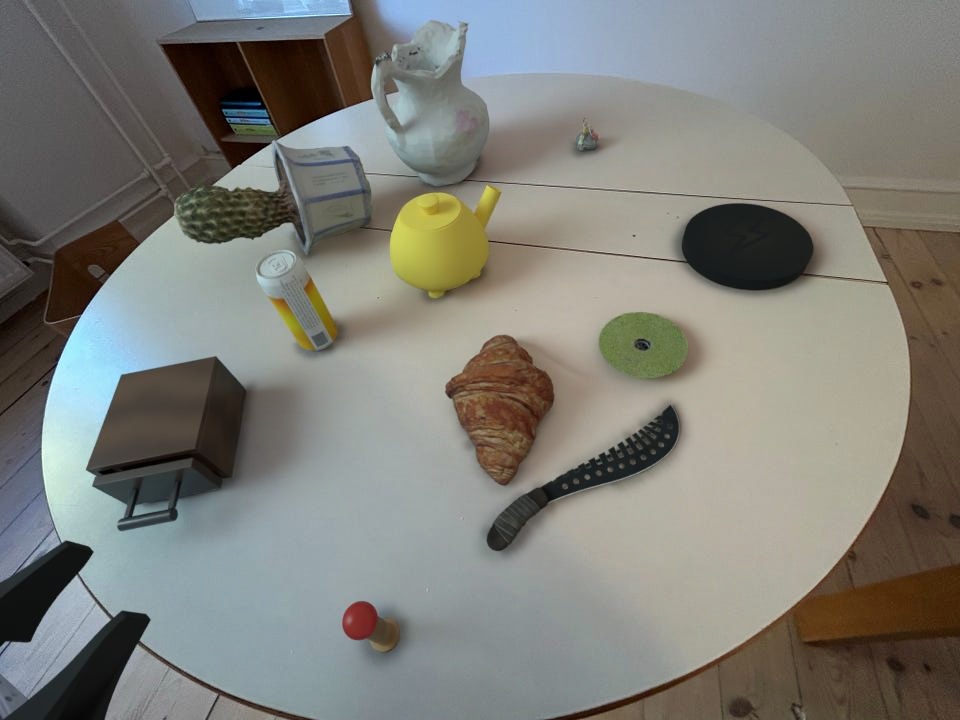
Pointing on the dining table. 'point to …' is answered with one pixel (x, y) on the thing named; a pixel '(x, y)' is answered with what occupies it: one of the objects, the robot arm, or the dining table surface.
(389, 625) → the flanged wooden peg
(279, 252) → the yellow two-tone cylinder
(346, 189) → the potted plant
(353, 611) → the ball
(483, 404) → the pastry
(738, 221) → the wireless charger
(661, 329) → the green disc
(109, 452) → the cabinet
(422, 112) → the ceramic pitcher
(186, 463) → the drawer
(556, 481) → the knife
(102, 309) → the dining table surface
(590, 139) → the figurine
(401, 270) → the teapot
